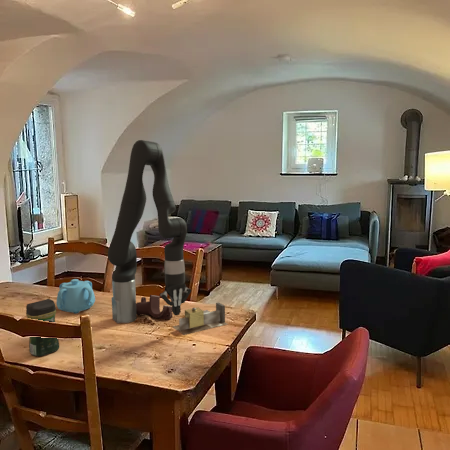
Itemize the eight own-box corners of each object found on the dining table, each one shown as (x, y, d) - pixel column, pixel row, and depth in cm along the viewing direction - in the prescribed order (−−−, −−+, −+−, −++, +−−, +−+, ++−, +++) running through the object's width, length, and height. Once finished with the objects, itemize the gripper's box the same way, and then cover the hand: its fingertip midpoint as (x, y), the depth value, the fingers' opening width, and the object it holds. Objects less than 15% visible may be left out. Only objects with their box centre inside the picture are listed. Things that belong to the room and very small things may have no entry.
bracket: (167, 318, 187) (167, 293, 190) (133, 320, 195) (134, 296, 197) (175, 318, 192) (175, 294, 195) (142, 320, 200) (143, 297, 203)
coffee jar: (52, 344, 170) (48, 295, 166) (62, 350, 164) (59, 300, 161) (25, 352, 163) (21, 302, 160) (35, 359, 157) (31, 307, 154)
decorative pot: (60, 304, 213) (58, 275, 211) (96, 301, 216) (95, 273, 213) (54, 317, 197) (51, 286, 195) (93, 314, 200) (91, 283, 197)
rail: (183, 337, 175) (183, 317, 173) (172, 328, 183) (171, 309, 182) (228, 326, 185) (228, 307, 184) (215, 318, 193) (215, 300, 192)
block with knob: (190, 328, 178) (189, 311, 177) (185, 324, 182) (184, 308, 181) (203, 325, 181) (203, 308, 180) (198, 321, 185) (198, 305, 184)
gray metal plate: (197, 320, 192) (197, 317, 192) (190, 315, 197) (190, 313, 197) (213, 316, 196) (213, 314, 196) (206, 312, 201) (206, 309, 201)
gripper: (185, 266, 181) (187, 308, 184) (154, 271, 174) (156, 315, 177) (194, 270, 175) (196, 313, 178) (163, 276, 168) (165, 321, 171)
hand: (176, 314), depth 177 cm, fingers closed
